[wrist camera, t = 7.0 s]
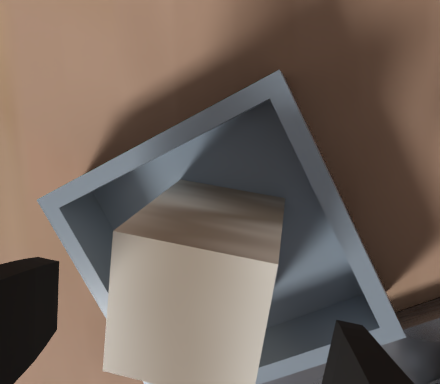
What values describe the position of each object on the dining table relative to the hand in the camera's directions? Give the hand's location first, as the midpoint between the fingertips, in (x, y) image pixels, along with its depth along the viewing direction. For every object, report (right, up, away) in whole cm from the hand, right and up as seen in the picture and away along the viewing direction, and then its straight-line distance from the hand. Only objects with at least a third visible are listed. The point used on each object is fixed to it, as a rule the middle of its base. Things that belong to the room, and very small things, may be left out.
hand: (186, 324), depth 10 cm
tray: (+1, +2, +6) cm, 6 cm away
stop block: (+1, +2, +6) cm, 6 cm away
